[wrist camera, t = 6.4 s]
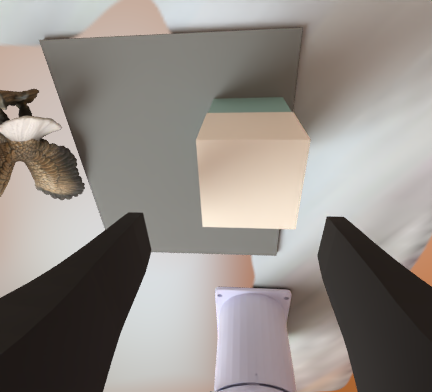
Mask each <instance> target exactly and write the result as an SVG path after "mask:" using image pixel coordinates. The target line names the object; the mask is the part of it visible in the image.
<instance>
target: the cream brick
mask: <svg viewBox="0 0 432 392" xmlns="http://www.w3.org/2000/svg"><path fill="white" fill-rule="evenodd" d="M310 140H311V139H310V138H309V136H308V135H307V133H306V131H305V130H304V128H303V127H302V125H301V123H300V122H299V120H298V119H297V117H296V115H295V114H294V112H243V113H207V114H206V116H205V119H204V121H203V124H202V126H201V128H200V131H199V133H198V136H197V138H196V148H197V161H198V174H199V187H200V200H201V213H202V225H203V227H226V228H264V229H296V223H297V217H298V211H299V205H300V199H301V194H302V188H303V182H304V176H305V170H306V164H307V158H308V152H309V146H310Z"/></svg>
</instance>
